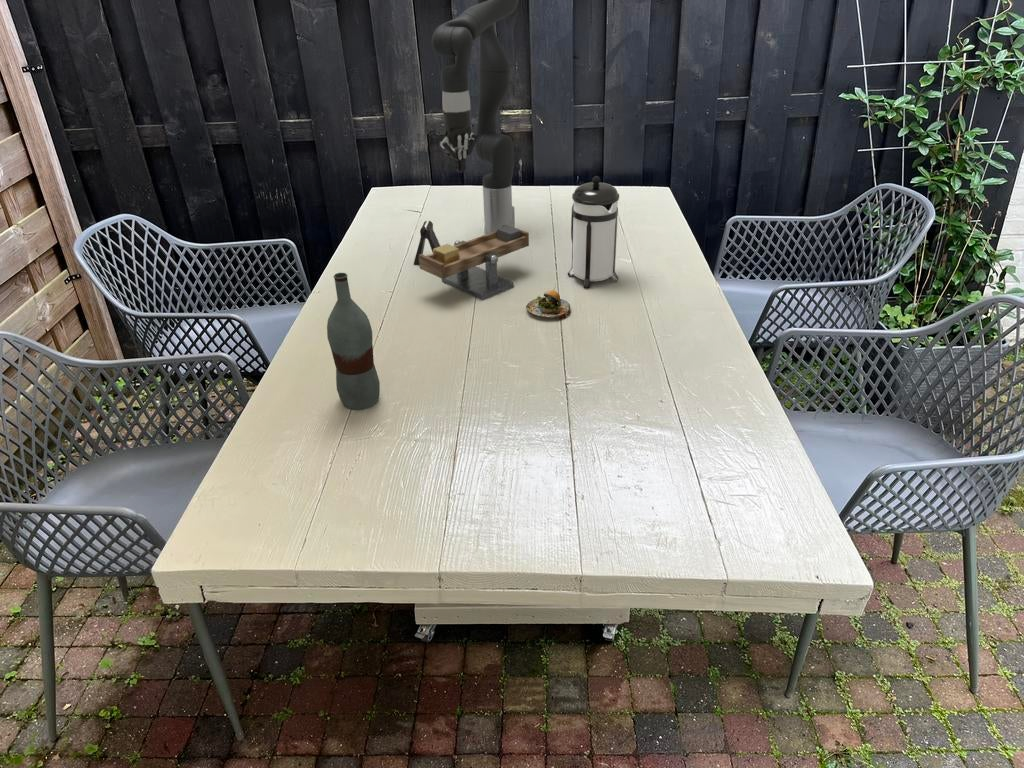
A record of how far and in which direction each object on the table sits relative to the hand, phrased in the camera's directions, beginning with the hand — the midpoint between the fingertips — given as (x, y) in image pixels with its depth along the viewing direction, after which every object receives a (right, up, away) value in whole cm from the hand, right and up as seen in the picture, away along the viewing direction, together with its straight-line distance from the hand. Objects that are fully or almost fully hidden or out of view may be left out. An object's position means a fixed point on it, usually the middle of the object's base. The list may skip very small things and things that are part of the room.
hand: (460, 171), depth 210 cm
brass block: (-3, -27, -7) cm, 28 cm away
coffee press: (+37, -29, +7) cm, 48 cm away
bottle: (-19, -64, -46) cm, 81 cm away
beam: (+4, -24, 0) cm, 25 cm away
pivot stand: (+5, -31, +4) cm, 32 cm away
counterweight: (+14, -18, +6) cm, 23 cm away
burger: (+24, -41, -11) cm, 49 cm away
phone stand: (-11, -22, +20) cm, 32 cm away
